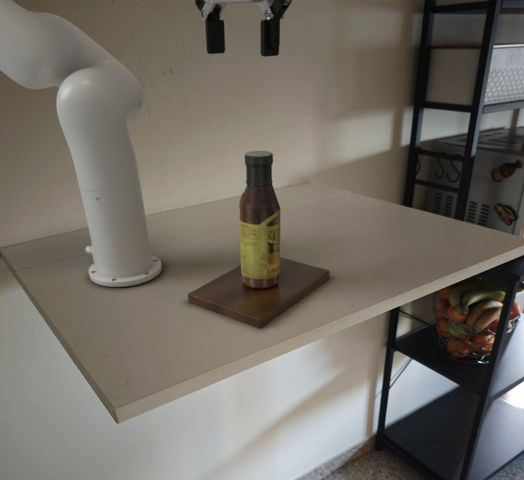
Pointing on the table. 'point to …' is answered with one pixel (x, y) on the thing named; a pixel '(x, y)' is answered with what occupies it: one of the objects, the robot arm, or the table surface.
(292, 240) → the table surface
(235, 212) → the table surface
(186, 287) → the table surface
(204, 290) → the serving board
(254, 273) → the sauce bottle
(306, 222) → the table surface
